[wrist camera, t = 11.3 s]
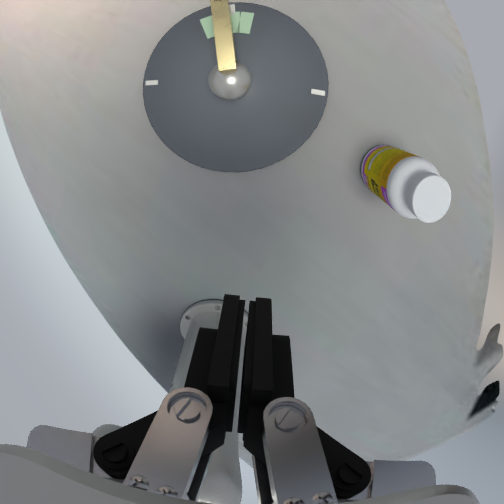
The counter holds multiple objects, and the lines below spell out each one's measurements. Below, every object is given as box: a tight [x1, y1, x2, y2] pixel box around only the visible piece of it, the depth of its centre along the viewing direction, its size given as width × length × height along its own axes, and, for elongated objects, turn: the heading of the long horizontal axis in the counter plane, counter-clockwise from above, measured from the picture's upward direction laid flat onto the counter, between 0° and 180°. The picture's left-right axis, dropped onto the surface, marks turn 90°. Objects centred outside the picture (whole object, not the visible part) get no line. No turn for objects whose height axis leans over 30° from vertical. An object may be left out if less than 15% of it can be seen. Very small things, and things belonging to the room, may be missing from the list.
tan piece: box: [208, 0, 252, 100], centre depth 24 cm, size 13×4×4 cm, turn 6°
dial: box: [143, 3, 328, 172], centre depth 29 cm, size 22×22×1 cm
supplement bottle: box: [361, 145, 451, 223], centre depth 28 cm, size 7×7×13 cm
